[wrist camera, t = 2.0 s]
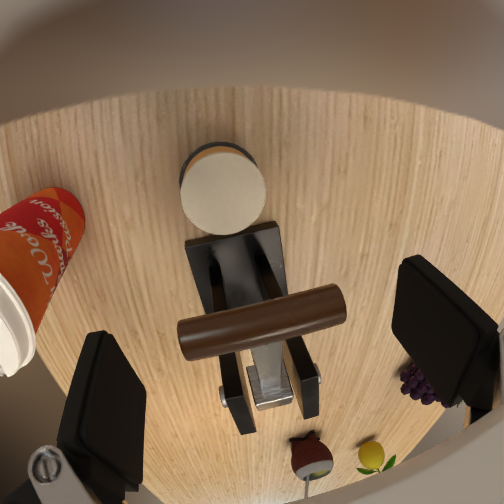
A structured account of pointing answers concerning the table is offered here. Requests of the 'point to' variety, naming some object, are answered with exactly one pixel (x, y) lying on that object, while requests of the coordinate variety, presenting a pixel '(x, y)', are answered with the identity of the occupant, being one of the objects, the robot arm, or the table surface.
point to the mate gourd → (310, 458)
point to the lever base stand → (244, 293)
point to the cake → (221, 188)
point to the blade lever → (263, 336)
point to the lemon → (373, 457)
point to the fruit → (419, 386)
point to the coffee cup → (33, 267)
